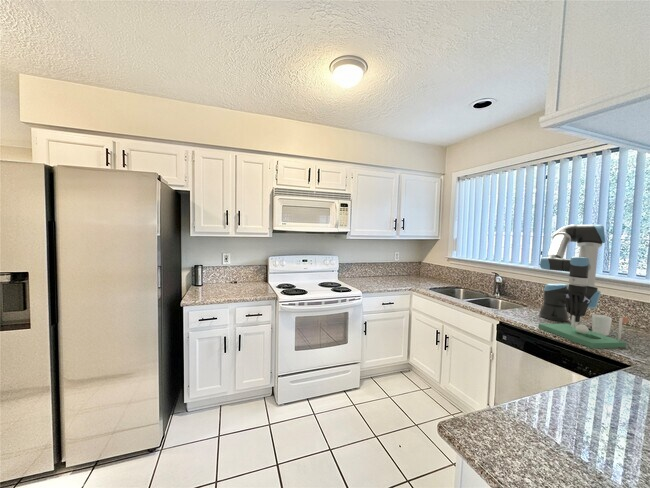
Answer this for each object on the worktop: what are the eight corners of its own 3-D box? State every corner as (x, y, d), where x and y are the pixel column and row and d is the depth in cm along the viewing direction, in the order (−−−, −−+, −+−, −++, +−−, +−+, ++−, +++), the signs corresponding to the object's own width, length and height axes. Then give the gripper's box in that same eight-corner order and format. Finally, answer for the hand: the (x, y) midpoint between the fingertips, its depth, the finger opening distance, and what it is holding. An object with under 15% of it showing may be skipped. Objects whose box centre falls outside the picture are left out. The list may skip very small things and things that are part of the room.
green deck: (570, 327, 162) (572, 303, 162) (629, 347, 135) (631, 318, 134) (538, 327, 159) (540, 303, 158) (592, 348, 131) (594, 319, 131)
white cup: (614, 336, 149) (616, 319, 148) (597, 335, 150) (599, 317, 150) (602, 331, 157) (604, 314, 156) (587, 330, 158) (588, 313, 158)
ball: (592, 334, 141) (582, 334, 146) (590, 324, 143) (580, 324, 148) (583, 333, 141) (574, 333, 146) (581, 323, 142) (572, 323, 147)
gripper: (559, 282, 154) (556, 323, 155) (584, 287, 141) (581, 331, 142) (571, 282, 155) (567, 323, 156) (597, 287, 142) (593, 331, 143)
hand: (574, 327), depth 149 cm, fingers closed
